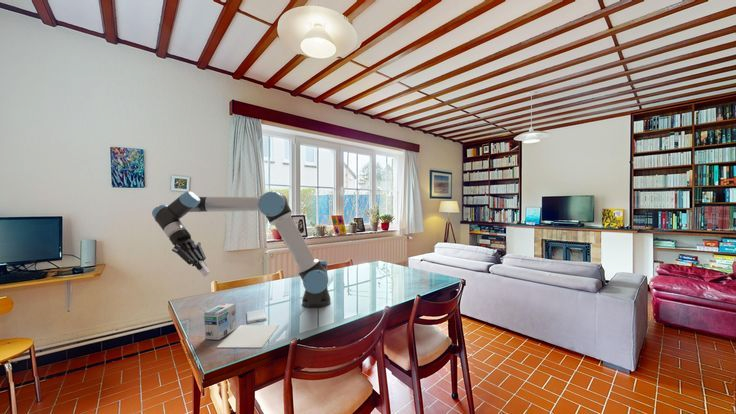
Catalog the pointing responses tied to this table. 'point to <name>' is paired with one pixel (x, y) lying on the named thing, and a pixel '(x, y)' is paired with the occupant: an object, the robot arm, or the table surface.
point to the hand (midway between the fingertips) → (207, 274)
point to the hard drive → (256, 316)
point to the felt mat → (249, 336)
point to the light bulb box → (220, 321)
